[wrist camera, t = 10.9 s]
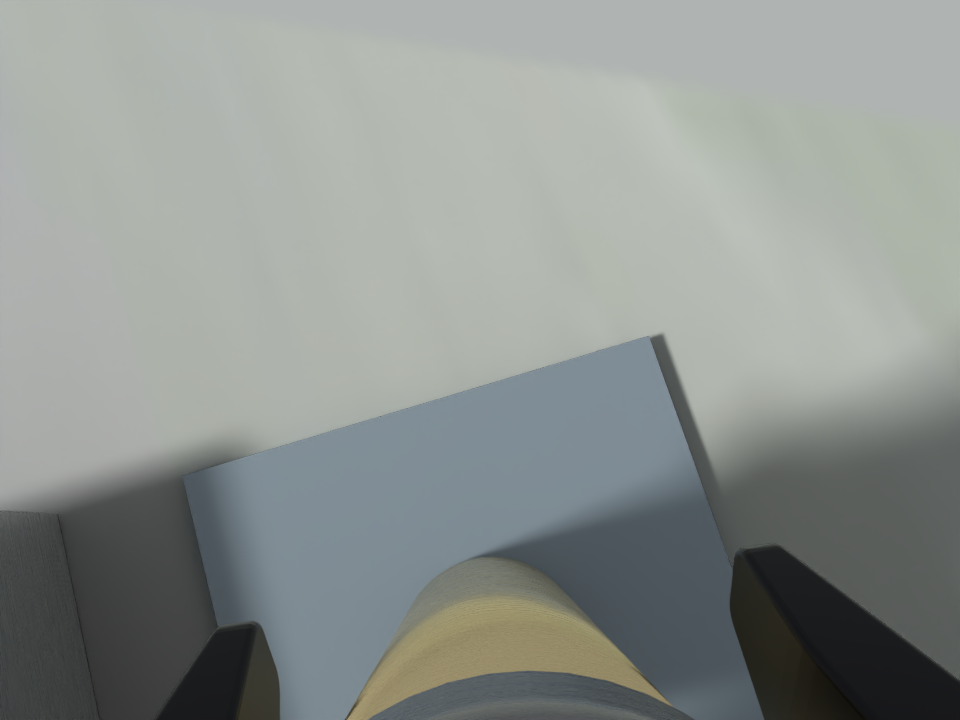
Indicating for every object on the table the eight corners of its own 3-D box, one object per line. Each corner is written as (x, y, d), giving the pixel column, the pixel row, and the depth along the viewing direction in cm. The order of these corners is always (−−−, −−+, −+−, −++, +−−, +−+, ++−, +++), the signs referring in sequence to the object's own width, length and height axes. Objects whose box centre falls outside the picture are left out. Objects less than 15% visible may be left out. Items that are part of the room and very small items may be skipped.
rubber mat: (816, 823, 16) (825, 829, 16) (313, 1003, 15) (309, 1015, 15) (644, 340, 18) (648, 335, 18) (188, 477, 17) (182, 475, 17)
